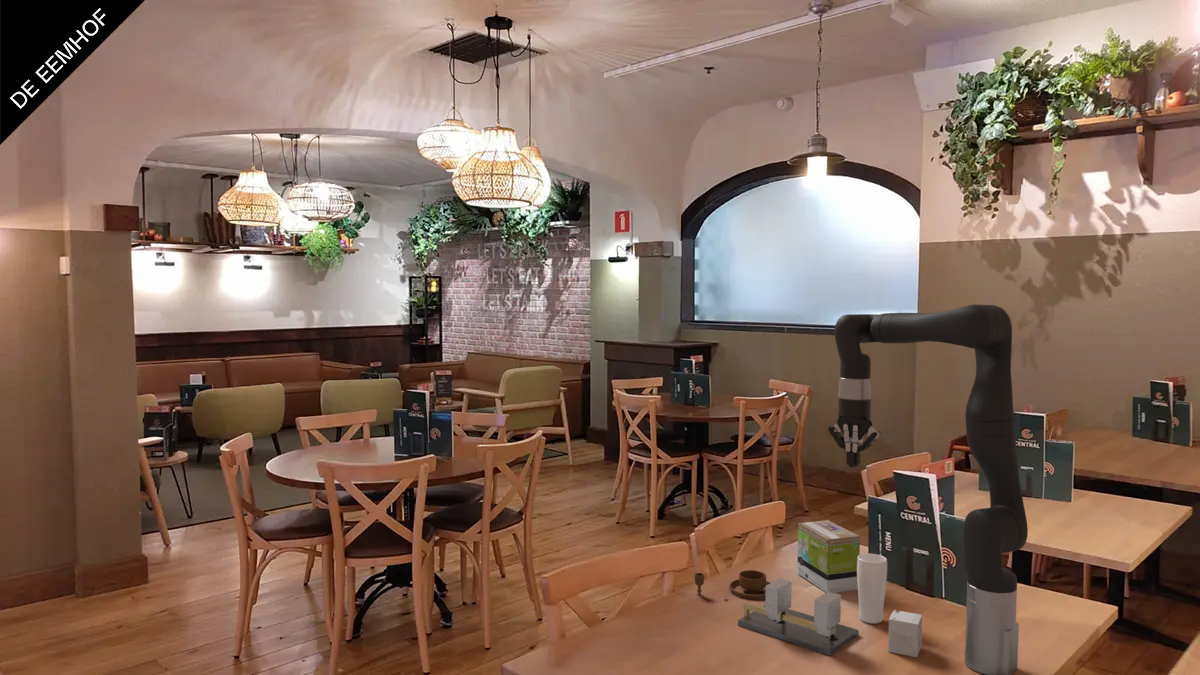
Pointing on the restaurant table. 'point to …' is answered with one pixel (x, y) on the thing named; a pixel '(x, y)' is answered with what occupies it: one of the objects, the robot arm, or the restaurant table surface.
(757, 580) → the place setting
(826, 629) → the beam
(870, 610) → the drinking glass
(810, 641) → the bolt-hole plate
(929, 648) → the restaurant table surface
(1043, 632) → the restaurant table surface
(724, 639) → the restaurant table surface
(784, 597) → the block
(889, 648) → the skincare box
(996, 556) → the robot arm
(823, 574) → the tea box
